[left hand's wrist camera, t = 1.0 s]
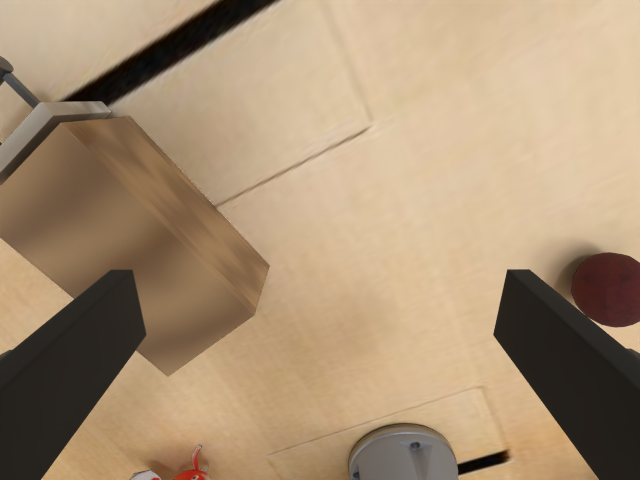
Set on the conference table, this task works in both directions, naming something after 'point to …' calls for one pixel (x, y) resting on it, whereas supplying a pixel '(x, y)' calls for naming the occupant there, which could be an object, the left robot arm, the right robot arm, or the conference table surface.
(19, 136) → the drawer
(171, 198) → the cabinet
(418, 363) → the conference table surface
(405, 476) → the right robot arm
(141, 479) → the fish
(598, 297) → the dark red ball
